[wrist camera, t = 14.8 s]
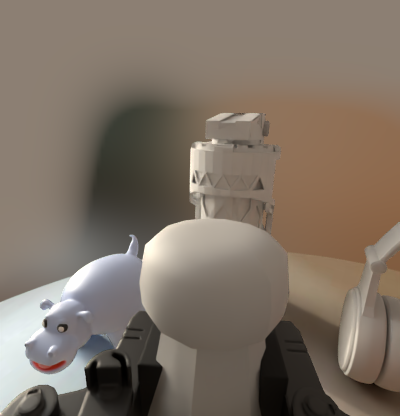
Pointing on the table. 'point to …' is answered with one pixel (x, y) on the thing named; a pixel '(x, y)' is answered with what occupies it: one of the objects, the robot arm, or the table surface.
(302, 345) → the robot arm
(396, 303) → the headphones
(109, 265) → the hippopotamus toy
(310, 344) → the table surface
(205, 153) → the lantern
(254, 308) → the salt shaker
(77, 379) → the table surface
